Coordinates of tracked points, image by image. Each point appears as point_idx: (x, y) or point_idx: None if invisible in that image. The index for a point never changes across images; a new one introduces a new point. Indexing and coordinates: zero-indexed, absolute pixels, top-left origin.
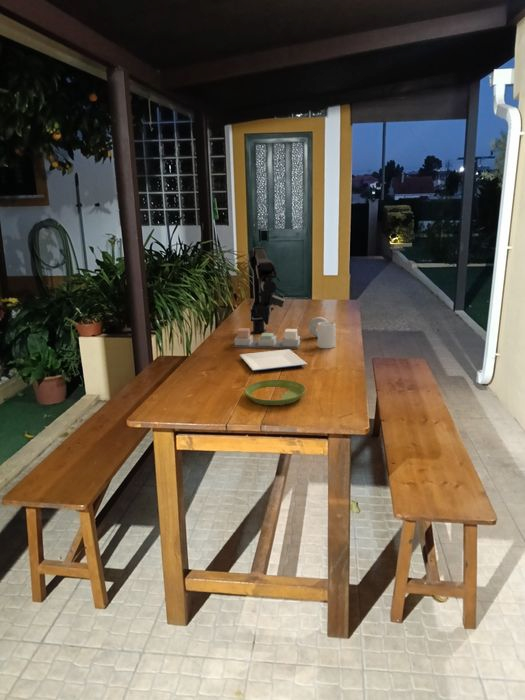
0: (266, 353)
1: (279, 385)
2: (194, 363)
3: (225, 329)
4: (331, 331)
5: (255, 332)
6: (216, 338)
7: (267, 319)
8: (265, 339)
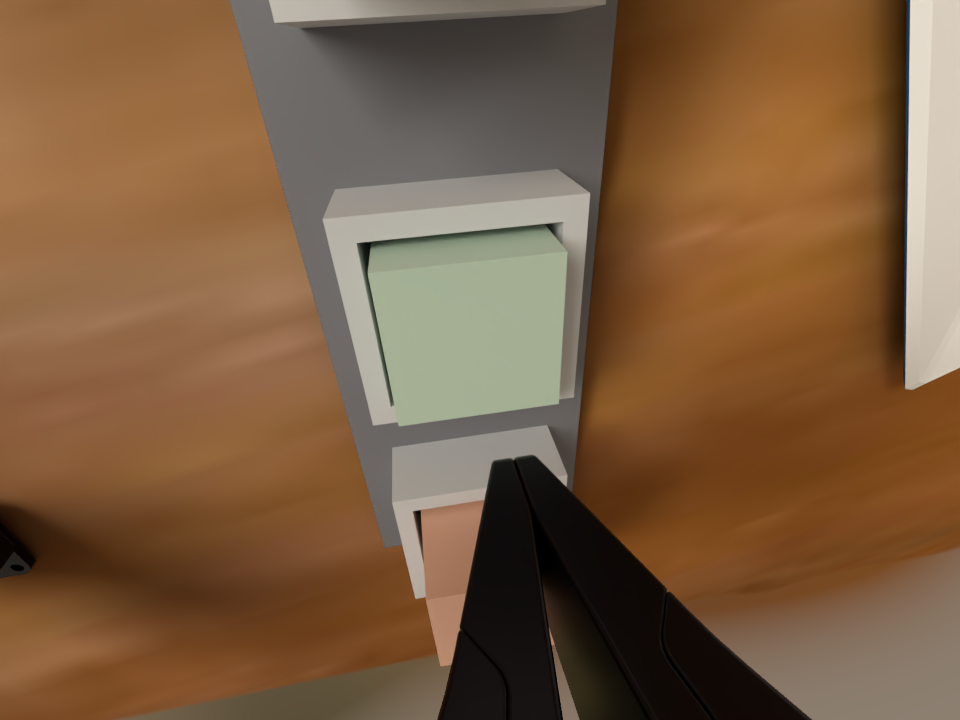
0: (952, 154)
1: None
2: (881, 544)
3: (60, 714)
4: None
5: (10, 541)
6: (340, 659)
7: (622, 566)
8: (580, 311)
